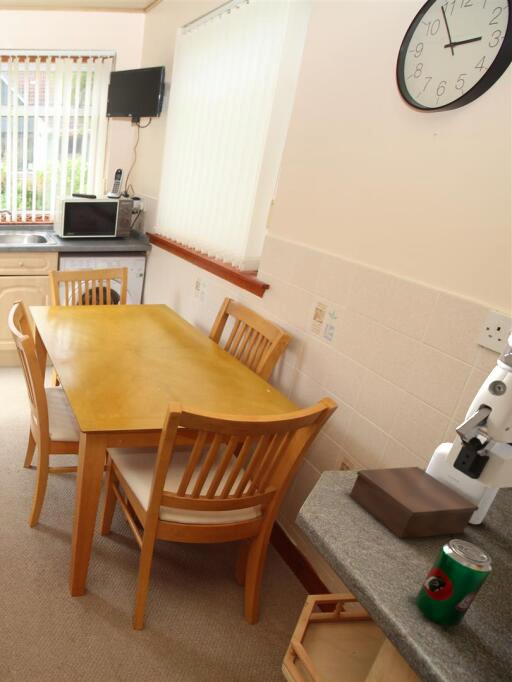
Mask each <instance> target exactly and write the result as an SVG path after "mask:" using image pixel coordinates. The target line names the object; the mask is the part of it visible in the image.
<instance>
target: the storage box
mask: <svg viewBox="0 0 512 682" xmlns="http://www.w3.org/2000/svg"><path fill="white" fill-rule="evenodd" d="M356 475H357V477H356V480H355V482H354V484H353V487H352V489H351V492H350V494H349V497H350V498H351V499H353V501H355V502H356V503H358V504H359V505H360V506H361V507H362V508H364V509H365V510H366V511H367V512H368V513H370V514H371V515H372V516H373V517H374V518H376V519H377V520H378V521H379V522H380V523H382V524H383V525H384V526H385V527H386V528H388V529H389V530H390V531H391V532H392V533H394V534H395V535H396V536H397V537H399V538H400V539H407V538H419V537H429V536H430V537H431V536H441V535H443V536H444V535H451V534H452V535H455V534H463V533H464V531H465V530H466V528H467V526H468V524H469V520H470V518H471V517H472V515H473V513H474V511H477V510H478V509H479V507H478V506H476V505H475V504H473V503H472V502H470V501H469V500H467V499H466V498H464V497H463V496H461V495H460V494H458V493H457V492H455V491H454V490H452V489H450V488H449V487H447V486H446V485H444V484H443V483H441V482H440V481H438V480H437V479H435V478H434V477H432V476H431V475H429V474H428V473H426V470H423V469H422V468H420V467H418V466H406V467H390V468H373V469H358V470H357V472H356Z"/></svg>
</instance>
